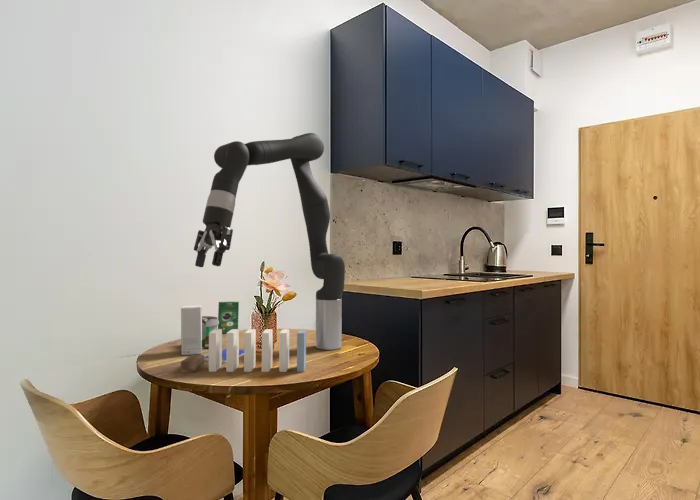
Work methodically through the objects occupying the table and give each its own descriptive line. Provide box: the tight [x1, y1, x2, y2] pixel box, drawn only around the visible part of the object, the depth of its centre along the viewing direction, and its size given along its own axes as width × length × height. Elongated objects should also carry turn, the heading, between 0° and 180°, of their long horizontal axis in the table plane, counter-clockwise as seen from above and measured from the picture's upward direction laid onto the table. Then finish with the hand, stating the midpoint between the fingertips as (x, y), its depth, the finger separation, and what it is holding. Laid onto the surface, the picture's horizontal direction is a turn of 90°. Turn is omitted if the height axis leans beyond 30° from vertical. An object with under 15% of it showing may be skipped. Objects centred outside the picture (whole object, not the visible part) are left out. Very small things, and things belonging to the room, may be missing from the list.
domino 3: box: [243, 328, 257, 373], centre depth 126 cm, size 2×6×11 cm, turn 1°
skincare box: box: [180, 304, 203, 356], centre depth 146 cm, size 8×7×16 cm
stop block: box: [180, 354, 205, 373], centre depth 126 cm, size 4×8×3 cm, turn 0°
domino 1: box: [208, 328, 223, 373], centre depth 126 cm, size 2×6×11 cm, turn 1°
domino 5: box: [278, 328, 290, 373], centre depth 126 cm, size 2×6×11 cm, turn 0°
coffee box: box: [217, 300, 240, 335], centre depth 180 cm, size 8×3×13 cm, turn 124°
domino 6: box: [296, 328, 307, 373], centre depth 126 cm, size 2×6×11 cm, turn 0°
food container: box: [202, 315, 219, 350], centre depth 157 cm, size 12×6×10 cm, turn 34°
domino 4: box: [261, 328, 274, 373], centre depth 126 cm, size 2×6×11 cm, turn 0°
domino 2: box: [225, 328, 240, 373], centre depth 126 cm, size 2×6×11 cm, turn 1°
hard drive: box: [204, 348, 244, 363], centre depth 140 cm, size 2×8×12 cm
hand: (207, 266), depth 117 cm, fingers open, 8 cm apart
